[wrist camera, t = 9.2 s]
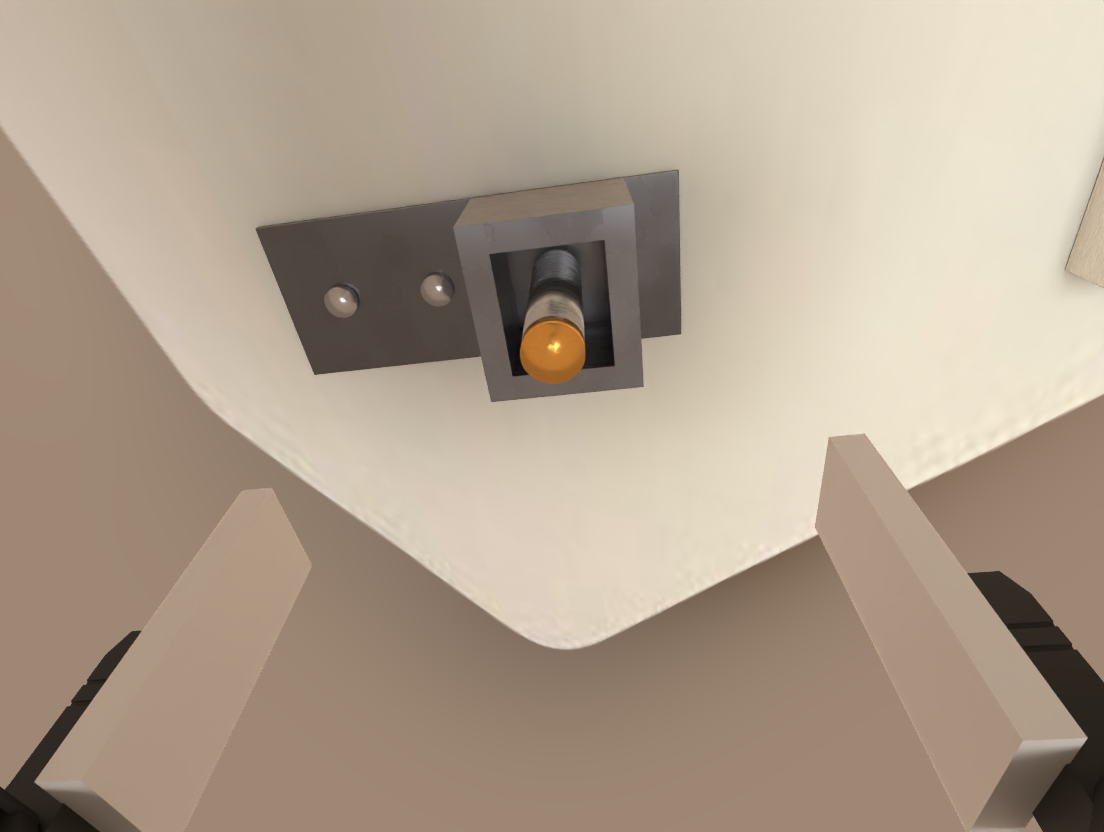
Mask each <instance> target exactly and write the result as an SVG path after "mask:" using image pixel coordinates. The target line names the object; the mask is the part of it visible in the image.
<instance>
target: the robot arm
mask: <svg viewBox="0 0 1104 832" xmlns="http://www.w3.org/2000/svg"><path fill="white" fill-rule="evenodd" d="M815 528H816V530H817V532H818V534H819V536H820V538H821V540H822V542H823V544H824V546H825V548H826V550H827V552H828V554H829V556H830V558H831V560H832V562H833V564H834V566H835V568H836V570H837V572H838V574H839V576H840V578H841V580H842V583H843V585H844V587H845V589H846V590H847V592H848V595H849V597H850V599H851V600H852V603H853V605H854V607H855V609H856V611H857V613H858V615H859V617H860V619H861V621H862V623H863V625H864V627H865V629H866V631H867V633H868V635H869V637H870V639H871V641H872V643H873V645H874V647H875V649H876V651H877V653H878V655H879V657H880V659H881V661H882V663H883V665H884V667H885V669H886V671H887V673H888V675H889V677H890V679H891V682H892V684H893V686H894V687H895V690H896V692H897V693H898V696H899V698H900V700H901V702H902V704H903V706H904V708H905V710H906V712H907V713H908V716H909V718H910V720H911V722H912V724H913V726H914V728H915V730H916V732H917V734H918V736H919V738H920V740H921V742H922V744H923V746H924V748H925V750H926V752H927V754H928V756H929V758H930V760H931V762H932V764H933V766H934V768H935V770H936V772H937V774H938V776H939V778H940V780H941V783H942V785H943V786H944V788H945V791H946V793H947V795H948V797H949V799H950V801H951V803H952V805H953V807H954V809H955V811H956V813H957V815H958V817H959V818H960V821H961V823H962V825H963V827H964V829H965V831H966V832H1022V831H1023V830H1024V828H1025V827H1026V825H1027V824H1028V823H1029V821H1030V819H1031V818H1032V817H1033V816H1034V817H1035V819H1036V821H1037V822H1038V824H1039V826H1040V827H1041V829H1042V831H1043V832H1104V682H1103V681H1102V680H1101V679H1100V677H1099V676H1098V675H1097V674H1096V672H1095V671H1094V670H1093V669H1092V667H1091V666H1090V665H1089V664H1088V663H1087V661H1086V660H1085V659H1084V658H1083V657H1082V655H1081V654H1080V653H1079V652H1078V651H1077V650H1074V649H1073V647H1072V643H1071V642H1070V641H1069V639H1068V638H1067V637H1066V636H1065V635H1064V633H1063V632H1062V631H1061V630H1060V629H1059V627H1057V626H1056V627H1055V626H1054V624H1053V620H1052V619H1051V617H1050V616H1049V615H1048V614H1047V613H1046V611H1045V610H1044V609H1043V608H1042V607H1041V605H1040V604H1039V603H1038V602H1037V601H1036V599H1035V598H1034V597H1033V596H1032V594H1031V593H1029V592H1028V591H1026V590H1025V589H1024V588H1022V587H1021V586H1019V585H1018V584H1017V583H1015V582H1014V581H1013V580H1011V579H1010V578H1008V577H1007V576H1005V575H1004V574H1003V573H1001V572H1000V571H995V572H979V573H966V571H965V570H964V569H963V567H962V566H961V564H960V563H959V562H958V560H957V559H956V558H955V556H954V555H953V554H952V552H951V551H950V549H949V548H948V547H947V545H946V544H945V543H944V541H943V540H942V539H941V537H940V536H939V535H938V533H937V532H936V530H935V529H934V528H933V526H932V525H931V524H930V522H929V521H928V519H927V518H926V517H925V515H924V514H923V513H922V511H921V510H920V509H919V507H918V506H917V504H916V503H915V502H914V501H913V499H912V498H911V496H910V495H909V494H908V492H907V491H906V489H905V488H904V487H903V485H902V484H901V483H900V481H899V480H898V478H897V477H896V476H895V474H894V473H893V472H892V470H891V469H890V468H889V466H888V465H887V463H886V462H885V461H884V459H883V458H882V457H881V455H880V454H879V453H878V451H877V450H876V448H875V447H874V446H873V444H872V443H871V442H870V440H869V439H868V438H867V436H866V435H865V434H858V435H847V436H836V437H829V440H828V446H827V453H826V459H825V466H824V472H823V478H822V485H821V491H820V498H819V504H818V510H817V517H816V523H815ZM311 567H312V564H311V563H310V560H309V558H308V557H307V555H306V553H305V551H304V549H303V547H302V545H301V543H300V541H299V539H298V537H297V535H296V533H295V532H294V530H293V528H292V526H291V524H290V522H289V520H288V518H287V516H286V514H285V512H284V510H283V509H282V507H281V505H280V503H279V501H278V499H277V497H276V495H275V493H274V491H273V489H272V488H263V489H252V490H242V492H241V493H240V494H239V496H238V497H237V498H236V500H235V501H234V503H233V504H232V506H231V507H230V508H229V510H228V511H227V513H226V514H225V515H224V517H223V518H222V519H221V521H220V522H219V524H218V525H217V526H216V528H215V529H214V531H213V532H212V533H211V535H210V536H209V538H208V539H207V540H206V542H205V543H204V545H203V546H202V547H201V549H200V550H199V552H198V553H197V554H196V556H195V557H194V559H193V560H192V561H191V563H190V564H189V566H188V567H187V568H186V570H185V571H184V573H183V574H182V575H181V577H180V578H179V580H178V581H177V582H176V584H175V585H174V587H173V588H172V589H171V591H170V592H169V594H168V595H167V597H166V598H165V599H164V601H163V602H162V604H161V605H160V606H159V608H158V609H157V610H156V612H155V613H154V615H153V616H152V617H151V619H150V620H149V622H148V623H147V624H146V626H145V627H144V629H143V630H142V631H132V632H131V633H129V634H128V635H127V636H126V637H125V638H124V639H123V640H122V641H121V642H119V643H118V644H117V645H116V646H115V647H114V648H113V649H111V650H110V651H109V652H108V653H107V654H106V655H105V656H104V658H103V659H102V660H101V662H100V663H99V664H98V666H97V667H96V668H95V670H94V671H93V672H92V674H91V675H90V676H89V678H88V679H87V684H86V685H83V686H82V687H81V689H80V690H79V691H78V693H77V694H76V695H75V697H74V698H73V699H72V701H71V702H72V704H71V706H68V707H66V709H65V710H64V711H63V713H62V714H61V715H60V717H59V718H58V719H57V721H56V722H55V724H54V725H53V726H52V728H51V729H50V730H49V732H48V733H47V734H46V736H45V737H44V738H43V740H42V741H41V742H40V744H39V745H38V746H37V748H36V749H35V750H34V752H33V753H32V754H31V756H30V757H29V758H28V760H27V761H26V763H25V764H24V765H23V767H22V768H21V769H20V771H19V772H18V773H17V775H16V776H15V777H14V779H13V780H12V781H11V783H10V784H9V785H8V786H7V788H6V789H5V790H4V789H3V788H1V787H0V832H184V830H185V828H186V826H187V824H188V822H189V820H190V818H191V816H192V814H193V812H194V810H195V807H196V805H197V803H198V801H199V799H200V797H201V795H202V793H203V791H204V789H205V787H206V785H207V783H208V781H209V778H210V776H211V774H212V772H213V770H214V768H215V766H216V764H217V762H218V759H219V758H220V755H221V753H222V751H223V749H224V747H225V745H226V743H227V741H228V739H229V737H230V735H231V733H232V731H233V728H234V727H235V725H236V722H237V720H238V718H239V716H240V714H241V712H242V710H243V708H244V706H245V704H246V701H247V700H248V697H249V695H250V693H251V691H252V689H253V687H254V685H255V683H256V681H257V679H258V677H259V674H260V673H261V671H262V668H263V666H264V664H265V662H266V660H267V658H268V656H269V654H270V652H271V650H272V648H273V646H274V643H275V642H276V639H277V637H278V635H279V633H280V631H281V629H282V627H283V625H284V623H285V621H286V619H287V617H288V615H289V612H290V610H291V608H292V606H293V604H294V602H295V600H296V598H297V596H298V594H299V592H300V590H301V588H302V586H303V583H304V581H305V579H306V577H307V575H308V573H309V571H310V569H311Z"/></svg>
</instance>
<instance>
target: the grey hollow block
mask: <svg viewBox="0 0 1104 832" xmlns="http://www.w3.org/2000/svg"><path fill="white" fill-rule="evenodd" d="M453 230H454V234H455V239H456V243H457V248H458V252H459V257H460V262H461V266H462V271H463V275H464V280H465V284H466V289H467V294H468V298H469V303H470V307H471V312H472V316H473V321H474V325H475V330H476V335H477V339H478V344H479V348H480V353H481V357H482V362H483V367H484V371H485V376H486V380H487V385H488V389H489V394H490V398H491V402H496V401H506V400H516V399H526V398H536V397H546V396H556V395H566V394H576V393H586V392H596V391H606V390H616V389H626V388H636V387H644V386H643V367H642V347H641V328H640V309H639V290H638V271H637V252H636V233H635V214H634V203H633V200H632V198H631V195H630V193H629V190H628V188H627V185H626V183H625V180H624V178H619V179H611V180H604V181H596V182H589V183H581V184H574V185H566V186H559V187H551V188H543V189H536V190H528V191H521V192H513V193H506V194H498V195H491V196H483V197H476V198H471V199H470V201H469V202H468V204H467V206H466V207H465V209H464V210H463V212H462V214H461V215H460V217H459V219H458V220H457V222H456V223H455V225H454V227H453ZM599 240H602V249H603V261H604V273H605V284H606V296H607V308H608V320H607V321H598V322H589V323H584V335H585V354H586V356H585V362H584V365H583V367H582V369H581V370H580V372H579V373H578V374H577V375H576V376H575V377H573V378H572V379H570V380H568V381H566V382H563V383H558V384H548V383H544V382H540V381H538V380H536V379H534V378H533V377H531V376H530V375H529V374H528V373H527V372H526V370H525V369H524V367H523V365H522V363H521V360H520V348H521V342H522V335H523V330H520V326H519V320H518V314H517V308H516V303H515V297H514V291H513V285H512V280H511V274H510V268H509V262H508V257H507V252H510V251H518V250H526V249H534V248H543V247H551V246H559V245H567V244H575V243H583V242H591V241H599Z"/></svg>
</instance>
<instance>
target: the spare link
mask: <svg viewBox="0 0 1104 832" xmlns="http://www.w3.org/2000/svg"><path fill="white" fill-rule="evenodd" d="M1065 270H1066V271H1068V272H1070V273H1072V274H1075V275H1077V276H1079V277H1081V278H1083V279H1085V280H1088V281H1090V282H1092V283H1094V284H1096V285H1098V286H1101V287H1103V288H1104V161H1103V163H1102V166H1101V169H1100V172H1099V175H1098V178H1097V180H1096V183H1095V186H1094V189H1093V192H1092V195H1091V198H1090V200H1089V203H1088V206H1087V209H1086V212H1085V215H1084V217H1083V220H1082V223H1081V226H1080V229H1079V232H1078V235H1077V237H1076V240H1075V243H1074V246H1073V249H1072V252H1071V254H1070V257H1069V260H1068V263H1067V266H1066V269H1065Z"/></svg>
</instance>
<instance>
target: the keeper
mask: <svg viewBox="0 0 1104 832" xmlns="http://www.w3.org/2000/svg"><path fill="white" fill-rule="evenodd" d="M621 178H624V180H625V183H626V185H627V188H628V190H629V193H630V195H631V198H632V200H633V203H634V214H635V233H636V252H637V271H638V290H639V309H640V328H641V339H642V338H651V337H660V336H669V335H678V334H681V293H680V229H679V171H678V170H672V171H665V172H658V173H650V174H643V175H636V176H628V177H621ZM614 179H619V178H614ZM607 180H611V179H607ZM599 181H604V180H599ZM592 182H596V181H592ZM585 183H589V182H585ZM577 184H581V183H577ZM570 185H574V184H570ZM563 186H566V185H563ZM555 187H559V186H555ZM548 188H551V187H548ZM541 189H543V188H541ZM533 190H536V189H533ZM526 191H528V190H526ZM519 192H521V191H519ZM511 193H513V192H511ZM504 194H506V193H504ZM497 195H498V194H497ZM489 196H491V195H489ZM482 197H483V196H482ZM475 198H476V197H475ZM470 199H471V198H467V199H460V200H453V201H446V202H438V203H431V204H424V205H416V206H409V207H402V208H394V209H387V210H380V211H372V212H365V213H358V214H350V215H343V216H336V217H328V218H321V219H314V220H306V221H299V222H292V223H285V224H277V225H270V226H263V227H258V228H256V231H257V234H258V236H259V239H260V241H261V244H262V246H263V248H264V251H265V253H266V256H267V258H268V261H269V263H270V266H271V268H272V271H273V273H274V276H275V278H276V281H277V283H278V286H279V288H280V291H281V293H282V296H283V298H284V300H285V303H286V305H287V308H288V310H289V313H290V315H291V318H292V320H293V323H294V325H295V328H296V330H297V333H298V335H299V338H300V340H301V343H302V345H303V347H304V350H305V352H306V355H307V357H308V360H309V362H310V365H311V367H312V370H313V372H314V375H317V374H326V373H335V372H344V371H353V370H362V369H371V368H380V367H389V366H398V365H407V364H416V363H425V362H434V361H443V360H452V359H461V358H470V357H479V356H481V353H480V348H479V344H478V339H477V335H476V330H475V325H474V321H473V316H472V312H471V307H470V303H469V298H468V294H467V289H466V284H465V280H464V275H463V271H462V266H461V262H460V257H459V252H458V248H457V243H456V239H455V234H454V230H453V227H454V225H455V223H456V222H457V220H458V219H459V217H460V215H461V214H462V212H463V210H464V209H465V207H466V206H467V204H468V202H469V201H470ZM507 257H508V262H509V268H510V274H511V280H512V285H513V291H514V297H515V303H516V308H517V314H518V320H519V326H520V330H523V335H522V342H521V348H520V360H521V363H522V365H523V367H524V369H525V370H526V372H527V373H528V374H529V375H530V376H531V377H533V378H534V379H536V380H538V381H540V382H544V383H548V384H558V383H563V382H566V381H568V380H570V379H572V378H573V377H575V376H576V375H577V374H578V373H579V372H580V370H581V369H582V367H583V365H584V362H585V356H586V354H585V335H584V323H589V322H598V321H607V320H608V308H607V296H606V284H605V273H604V261H603V249H602V240H599V241H591V242H583V243H575V244H567V245H559V246H551V247H543V248H534V249H526V250H518V251H510V252H507Z"/></svg>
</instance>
